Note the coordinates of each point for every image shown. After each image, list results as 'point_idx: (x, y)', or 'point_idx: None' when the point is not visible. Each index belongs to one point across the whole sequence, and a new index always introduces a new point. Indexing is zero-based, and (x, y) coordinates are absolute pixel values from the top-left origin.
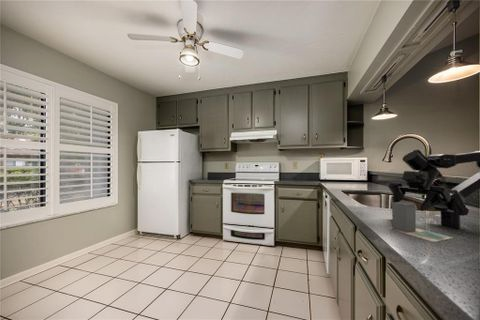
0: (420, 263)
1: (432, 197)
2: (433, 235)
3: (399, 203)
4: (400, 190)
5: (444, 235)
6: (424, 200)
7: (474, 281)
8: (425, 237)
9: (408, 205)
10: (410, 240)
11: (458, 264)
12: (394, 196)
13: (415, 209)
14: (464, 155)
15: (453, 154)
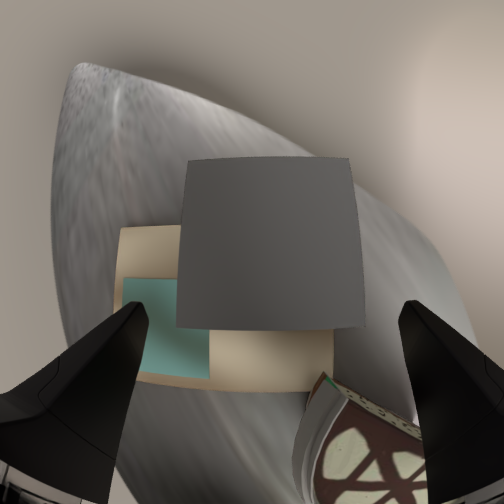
0: (119, 88)
1: (3, 396)
2: (152, 321)
3: (279, 174)
4: (499, 500)
5: (138, 376)
6: (77, 373)
7: (59, 116)
8: (155, 253)
9: (187, 191)
10: None
11: (71, 151)
12: (482, 359)
13: (294, 474)
14: None
15: None
